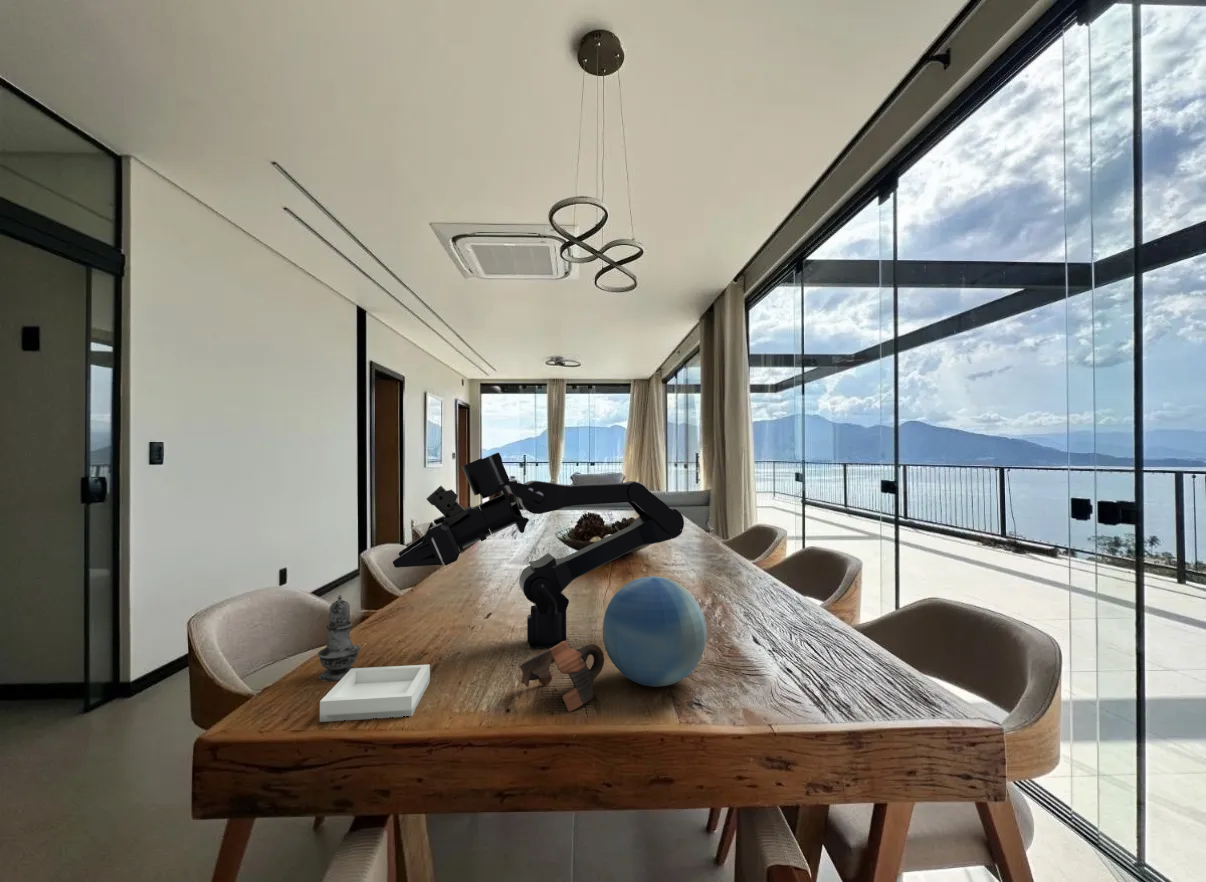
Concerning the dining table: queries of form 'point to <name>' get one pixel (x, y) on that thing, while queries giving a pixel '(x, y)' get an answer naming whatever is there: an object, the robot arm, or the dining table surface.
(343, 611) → the grey stone finial
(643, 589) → the decorative ball
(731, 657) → the dining table surface
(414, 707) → the box
